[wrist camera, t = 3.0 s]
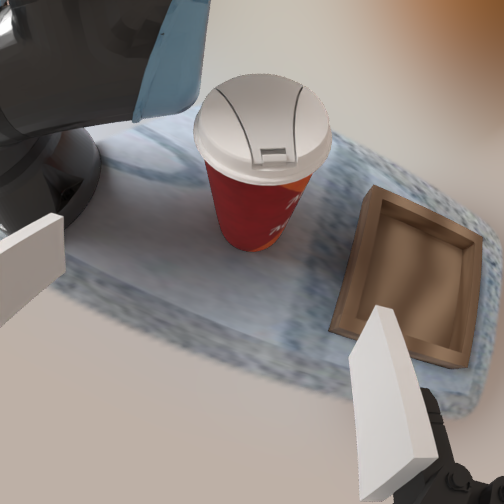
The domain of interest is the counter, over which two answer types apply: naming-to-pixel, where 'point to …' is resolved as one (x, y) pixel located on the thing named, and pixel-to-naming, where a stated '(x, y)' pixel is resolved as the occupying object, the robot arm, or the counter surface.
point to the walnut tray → (413, 278)
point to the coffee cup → (260, 153)
